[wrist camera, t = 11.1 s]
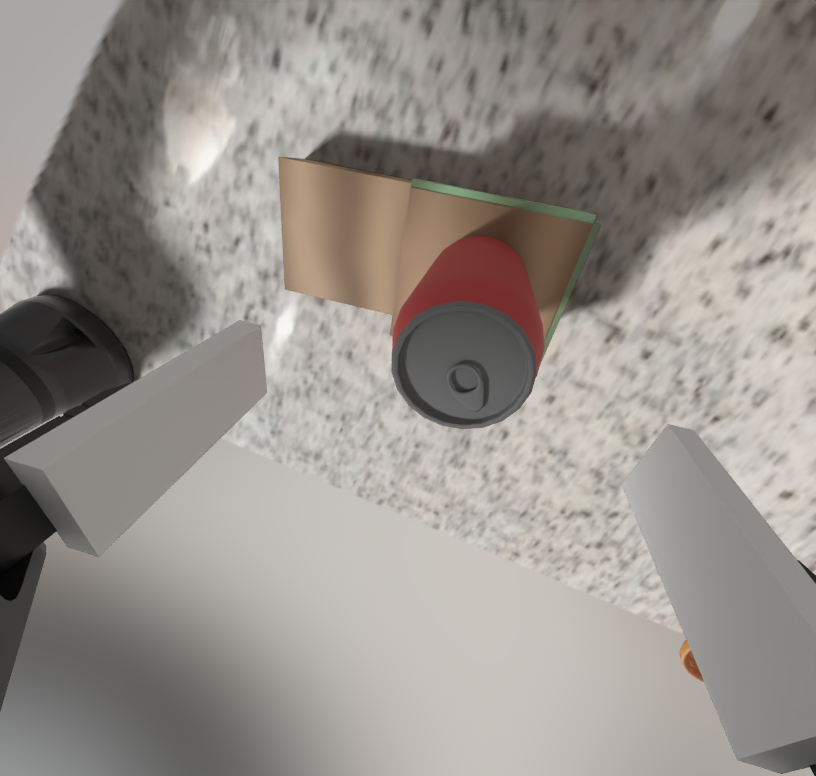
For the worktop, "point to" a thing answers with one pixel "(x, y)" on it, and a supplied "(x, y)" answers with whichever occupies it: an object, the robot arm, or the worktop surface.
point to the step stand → (415, 236)
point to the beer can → (469, 336)
